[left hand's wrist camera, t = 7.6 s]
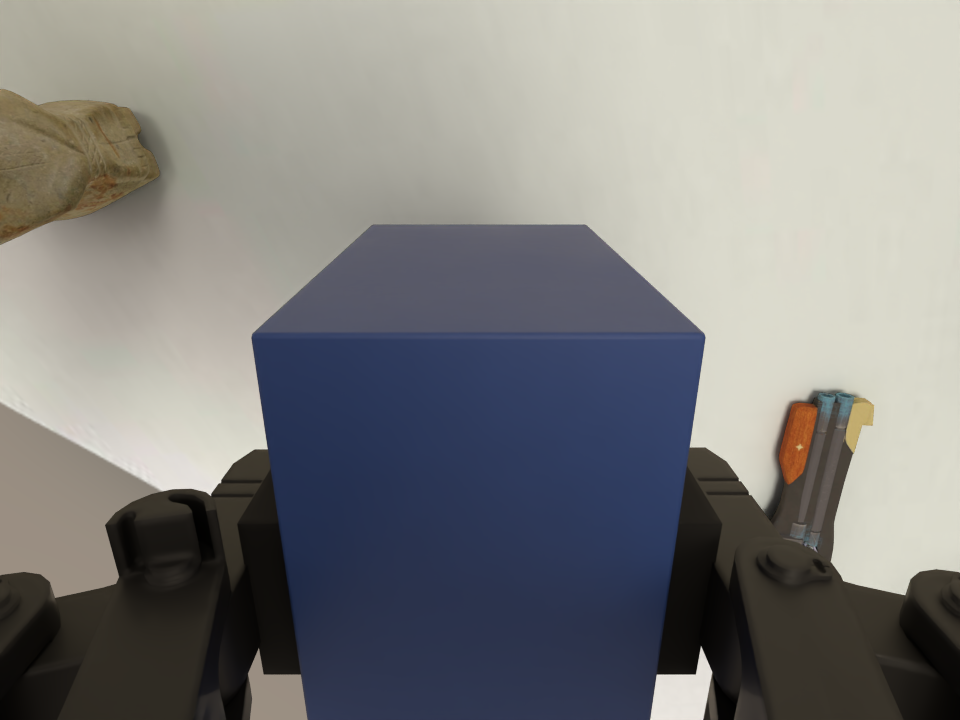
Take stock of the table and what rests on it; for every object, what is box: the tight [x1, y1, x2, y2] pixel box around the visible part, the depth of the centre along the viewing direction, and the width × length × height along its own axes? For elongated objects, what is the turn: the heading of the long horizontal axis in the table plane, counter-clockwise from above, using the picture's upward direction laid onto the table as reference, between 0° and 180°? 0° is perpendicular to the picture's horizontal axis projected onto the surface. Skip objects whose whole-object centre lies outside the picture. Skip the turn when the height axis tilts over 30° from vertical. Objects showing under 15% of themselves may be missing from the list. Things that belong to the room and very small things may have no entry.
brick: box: [252, 225, 705, 720], centre depth 12 cm, size 8×5×8 cm, turn 0°
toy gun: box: [770, 393, 874, 561], centre depth 38 cm, size 3×19×10 cm
